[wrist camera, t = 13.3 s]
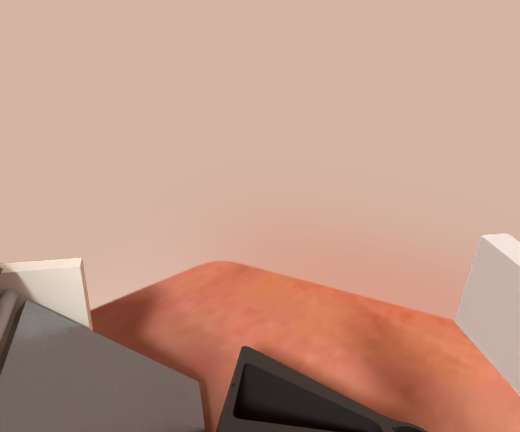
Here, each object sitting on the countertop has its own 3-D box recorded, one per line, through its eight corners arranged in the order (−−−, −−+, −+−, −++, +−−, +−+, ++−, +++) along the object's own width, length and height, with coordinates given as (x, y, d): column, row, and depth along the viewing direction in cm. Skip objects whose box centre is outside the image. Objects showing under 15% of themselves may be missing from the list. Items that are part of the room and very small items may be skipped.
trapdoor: (-346, 456, 14) (-291, 374, 13) (-152, 260, 24) (-112, 204, 23) (189, 575, 24) (240, 532, 23) (176, 403, 34) (212, 368, 33)
